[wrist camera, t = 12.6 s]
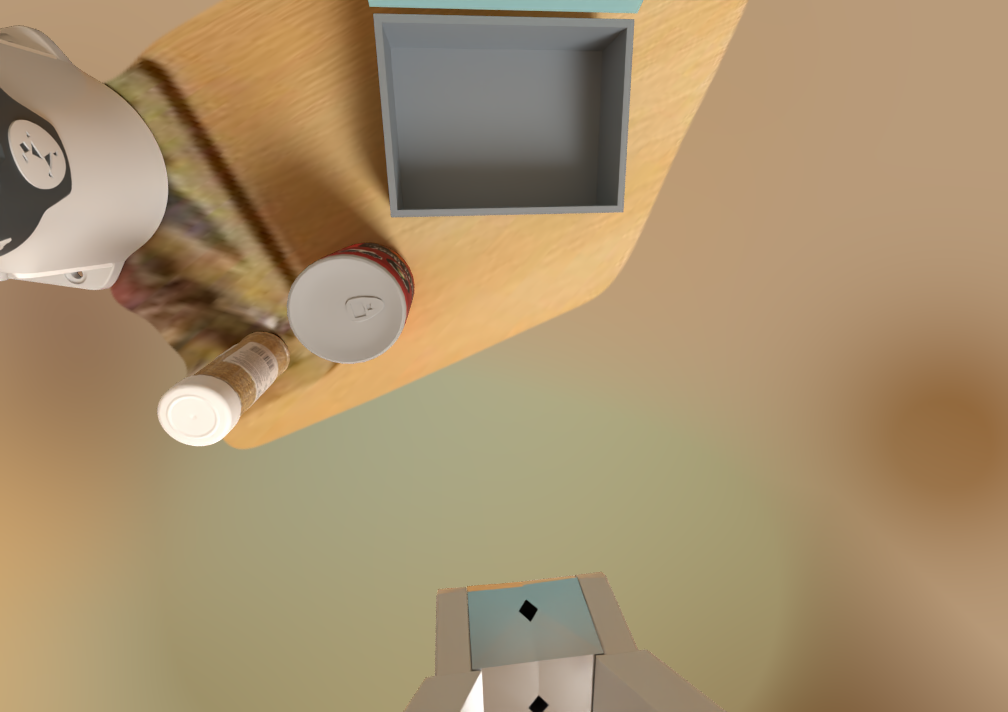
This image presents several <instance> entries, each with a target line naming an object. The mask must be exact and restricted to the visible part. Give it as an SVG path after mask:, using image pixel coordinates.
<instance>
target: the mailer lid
mask: <svg viewBox="0 0 1008 712" xmlns="http://www.w3.org/2000/svg"><path fill="white" fill-rule="evenodd" d="M368 2H369V6H370V7H403V8H444V9H485V10H526V11H568V12H609V13H638V11H639V8H640V6H641V4H642V2H643V0H368Z"/></svg>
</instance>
